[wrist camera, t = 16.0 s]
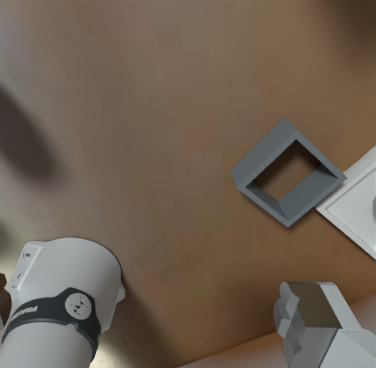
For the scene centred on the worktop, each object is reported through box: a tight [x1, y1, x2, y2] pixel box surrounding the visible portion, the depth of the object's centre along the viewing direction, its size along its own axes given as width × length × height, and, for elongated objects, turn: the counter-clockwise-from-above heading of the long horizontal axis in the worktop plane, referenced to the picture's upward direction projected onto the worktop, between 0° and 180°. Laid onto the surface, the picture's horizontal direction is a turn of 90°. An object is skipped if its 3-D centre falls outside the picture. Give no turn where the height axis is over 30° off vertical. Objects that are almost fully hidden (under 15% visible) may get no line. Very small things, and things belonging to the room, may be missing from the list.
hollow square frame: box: [231, 118, 347, 227], centre depth 43 cm, size 10×10×5 cm
